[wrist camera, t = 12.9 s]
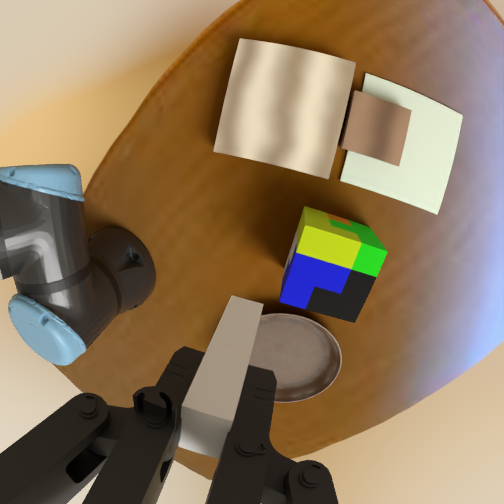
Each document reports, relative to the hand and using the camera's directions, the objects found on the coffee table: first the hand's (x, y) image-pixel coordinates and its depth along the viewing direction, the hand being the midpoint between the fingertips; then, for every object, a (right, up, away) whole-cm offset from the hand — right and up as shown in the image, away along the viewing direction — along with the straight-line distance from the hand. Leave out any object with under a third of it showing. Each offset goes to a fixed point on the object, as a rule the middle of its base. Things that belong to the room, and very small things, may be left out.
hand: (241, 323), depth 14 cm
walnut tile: (+17, +20, +21) cm, 33 cm away
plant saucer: (+6, -15, +37) cm, 40 cm away
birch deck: (+5, +23, +22) cm, 32 cm away
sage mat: (+22, +18, +21) cm, 35 cm away
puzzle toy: (+11, +4, +29) cm, 31 cm away
